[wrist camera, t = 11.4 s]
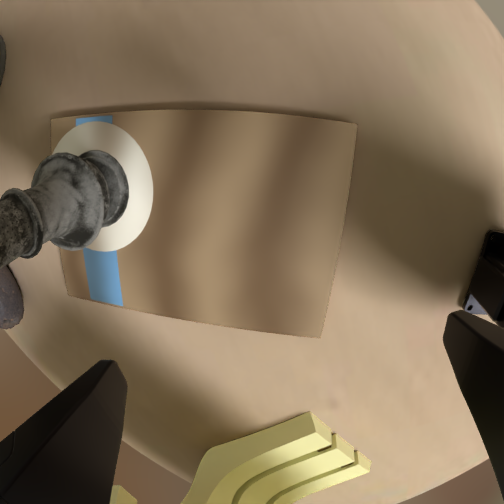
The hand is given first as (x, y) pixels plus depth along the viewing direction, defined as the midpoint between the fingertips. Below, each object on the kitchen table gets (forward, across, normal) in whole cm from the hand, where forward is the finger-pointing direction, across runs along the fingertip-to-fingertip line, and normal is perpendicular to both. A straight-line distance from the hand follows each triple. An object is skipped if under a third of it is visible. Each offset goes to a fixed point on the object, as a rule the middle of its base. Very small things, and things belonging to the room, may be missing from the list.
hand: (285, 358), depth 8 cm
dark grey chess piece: (+14, +11, -3) cm, 17 cm away
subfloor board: (+14, +5, 0) cm, 15 cm away
